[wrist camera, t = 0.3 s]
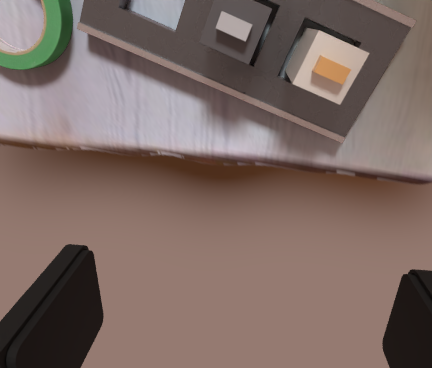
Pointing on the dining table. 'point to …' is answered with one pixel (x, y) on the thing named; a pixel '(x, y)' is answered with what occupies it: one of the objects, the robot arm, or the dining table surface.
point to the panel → (261, 53)
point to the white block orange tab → (325, 65)
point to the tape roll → (42, 39)
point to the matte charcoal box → (235, 27)
